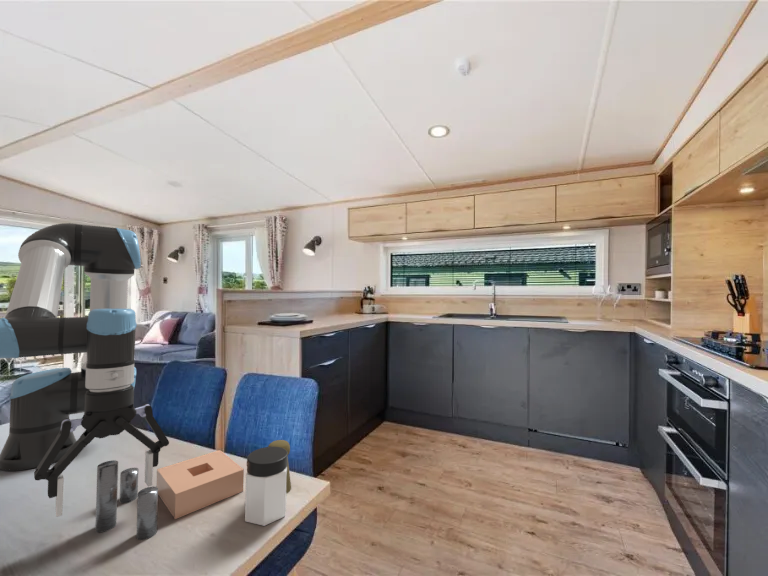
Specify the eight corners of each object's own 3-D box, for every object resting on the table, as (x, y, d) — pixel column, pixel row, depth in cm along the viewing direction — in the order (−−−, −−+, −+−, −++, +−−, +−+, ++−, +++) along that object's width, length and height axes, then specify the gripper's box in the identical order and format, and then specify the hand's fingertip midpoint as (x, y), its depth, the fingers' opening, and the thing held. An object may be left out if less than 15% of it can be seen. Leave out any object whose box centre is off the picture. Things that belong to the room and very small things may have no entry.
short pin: (118, 498, 76) (119, 471, 76) (135, 492, 78) (136, 466, 78) (121, 504, 74) (122, 476, 74) (139, 498, 76) (139, 471, 76)
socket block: (156, 491, 79) (156, 469, 79) (219, 469, 89) (219, 449, 89) (174, 519, 69) (175, 494, 69) (243, 491, 79) (243, 469, 79)
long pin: (94, 526, 67) (96, 464, 67) (114, 518, 69) (116, 458, 69) (96, 534, 64) (98, 470, 65) (117, 526, 67) (119, 464, 67)
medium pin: (134, 533, 65) (135, 491, 65) (154, 525, 67) (155, 484, 67) (138, 542, 63) (139, 498, 63) (158, 533, 65) (160, 491, 65)
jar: (277, 495, 78) (278, 442, 78) (295, 512, 72) (296, 454, 72) (237, 512, 72) (238, 454, 72) (253, 532, 66) (254, 469, 66)
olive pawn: (283, 498, 77) (284, 449, 77) (259, 495, 78) (260, 446, 78) (295, 484, 83) (296, 438, 83) (272, 481, 84) (273, 435, 84)
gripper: (17, 405, 56) (12, 538, 55) (186, 379, 74) (184, 479, 73) (17, 396, 61) (12, 518, 60) (176, 374, 79) (173, 467, 78)
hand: (106, 497), depth 67 cm, fingers open, 13 cm apart
